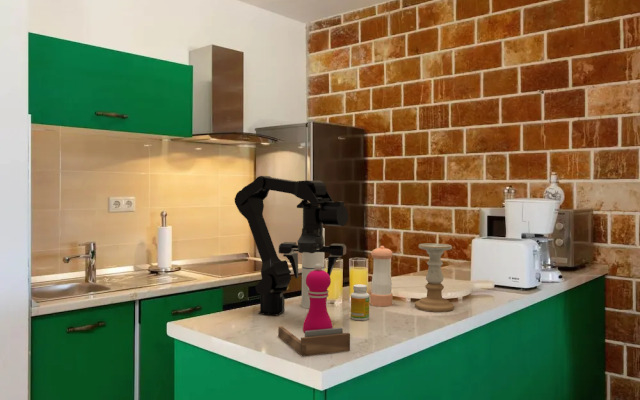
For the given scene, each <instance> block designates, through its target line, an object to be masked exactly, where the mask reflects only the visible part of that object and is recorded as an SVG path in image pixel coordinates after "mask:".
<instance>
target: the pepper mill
mask: <svg viewBox="0 0 640 400" xmlns="http://www.w3.org/2000/svg"><path fill="white" fill-rule="evenodd" d="M321 269H322V265H321V264H316V265H315V270H314V271H311V272H310V273H309V274H308V275H307V277H306V285H307V286H308V288H309V290H308V296H309V297H310V307H309V309H308V312H307V314H306V316H305V318H304V321H303V324H302V332H303V334H305V331H309V330H320V329H330V328H334V327H333V323H332V319H331V317H330V315H329V312H328V309H327V300H328V299H327V298H328V297H329V290H328V288H329V287H330V286H331V282H332V281H331V275H330V276H329V274H328V273H327V271H326V270H324V271H323V270H321Z"/></svg>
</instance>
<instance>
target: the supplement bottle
mask: <svg viewBox="0 0 640 400" xmlns="http://www.w3.org/2000/svg"><path fill="white" fill-rule="evenodd" d="M352 286H353V287H352V289H353V292H352V293H351V294H350V319H351V320H354V321H367V320H369V319H370V294H369V293H368V292H367V291H368V285H367V284H361V283H359V284H358V283H357V284H354V285H352Z"/></svg>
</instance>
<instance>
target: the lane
mask: <svg viewBox="0 0 640 400" xmlns="http://www.w3.org/2000/svg"><path fill="white" fill-rule="evenodd" d="M277 328H278V330H277V333H278V335H277V336H278V338H279V339H281V340H282V341H283V342H284V343H286V344H287V345H288V346H290V347H291V348H292V349H293V350H294V351H295V352H297V353H298V355H300V356H301V357H307V356H314V355H315V356H316V355H323V354H325V355H326V354H333V353H340V352H348V351H349V352H351V351H350V350H351V333H350V332H343V333H340V334H331V335H321V336H311V337H305V336H304V337H300V339H299V338H298V337H297V336H296V335H294V334H293V333H291V332H290V331H289V330H288V329H287V328H285V327H284V326H283V325H280V326H278V327H277Z"/></svg>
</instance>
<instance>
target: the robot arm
mask: <svg viewBox="0 0 640 400" xmlns="http://www.w3.org/2000/svg"><path fill="white" fill-rule="evenodd" d="M270 191H274V192H280V193H286V194H291V195H294V196H295V197H296V198H298V199H301V201H300V203H298V204H297V205H296V208H297V209H302V228H301V234H300V236H299V238H298V240H297V242H293V241H284V242H281V243H279V245H278V254H281V255H282V257H285V258H287V260H288V261H289V264H290V266H291V268H292V271H293V272H292V271H291V270H290V268H289V264H288V261H287V260H281V259H280V258H279V256H278V254H277V251H276V248H275V246H274V243H273V240H272V237H271V235H270V232H269V230H268V227H267V223H266V221H265V218H264V215H263V213H264V208H265V204H264V201H265V199H266V198H267V197H268V194H269V192H270ZM234 203H235V206H236V208H237V209H238V210H237V211H238V212H239V214H241V216H243V218H245V219H246V221H247V222H248V227H249V228H250V233H251V234H252V239H253V240H254V243H255V247H256V249H257V251H258V255H259V257H260V260H261V269H260V274H261V275H260V276H261V279H260V281H259V282H258V283H257V284H256V285H255V287H254V288H255V293H256V294H257V295H258V294H259V299H260V300H259V301H260V303H259V306H260V307H259V309H260V311H258V312H257V315H268V316H269V315H270V316H280V315H281V314H282V313H284V312H285V303H286V302H285V297H284V292H287V289H288V286H289V285H290V283H291V280H292V276H291V274H292V273H293V274H294V277H295V279H298V278H299V255H298V253H300V254H302V253H303V252H307V253H315V252H324V253H329V256H328V257H327V269H326V272H327V273H328V274H329V276H330V277H331V274H332V272H333V270H334V266H335V264H336V262H337V260H338V259H340V258H342V256H344V255H346V254H347V245H345V243H331V244H330V245H325V246H323V245H324V239H323V228H324V226H331V227H343V226H345V225H346V224H347V223H348V219H349V213H348V209H347V208H346V206H345V202H344V201H341V200H340V201H339V200H338V201H334V200H333V199H332V196H331V194H329V191H328V190H327V186H326V184H325V182H324V181H322V180H308V179H307V180H298V181H297V180H291V179H290V180H289V179H284V178H278V177H272V176H270V175H259V176H257V177H256V178H255V179H254V180H253V181H252V182H249V184H247V185H246V186H243V188H242V189H241V190H239V191H237V192H236V194H235V197H234Z"/></svg>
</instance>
